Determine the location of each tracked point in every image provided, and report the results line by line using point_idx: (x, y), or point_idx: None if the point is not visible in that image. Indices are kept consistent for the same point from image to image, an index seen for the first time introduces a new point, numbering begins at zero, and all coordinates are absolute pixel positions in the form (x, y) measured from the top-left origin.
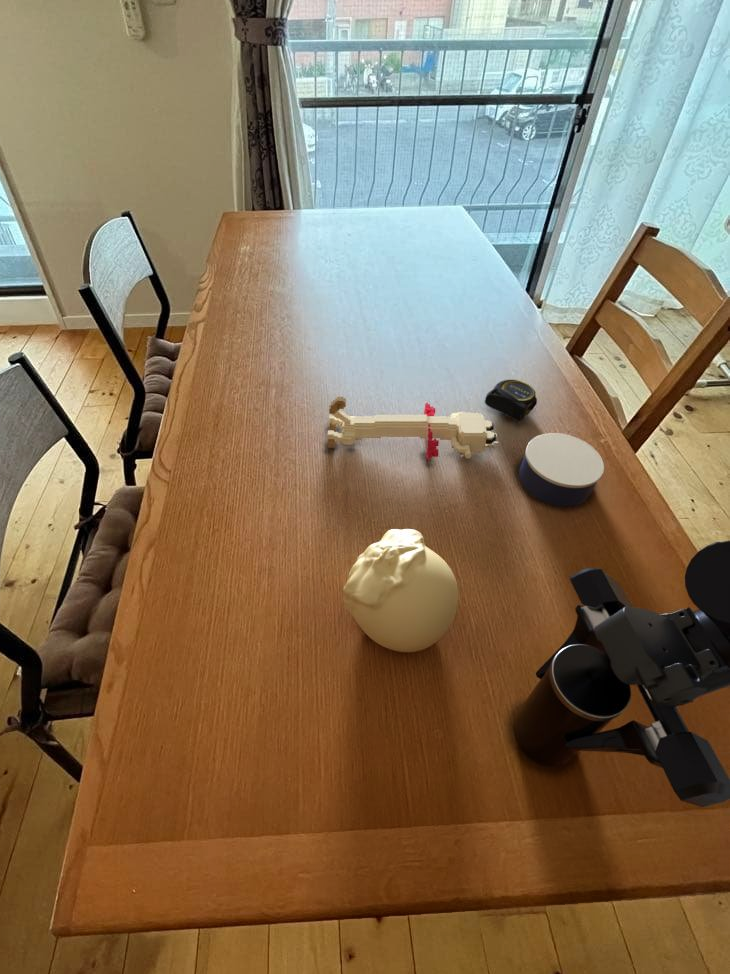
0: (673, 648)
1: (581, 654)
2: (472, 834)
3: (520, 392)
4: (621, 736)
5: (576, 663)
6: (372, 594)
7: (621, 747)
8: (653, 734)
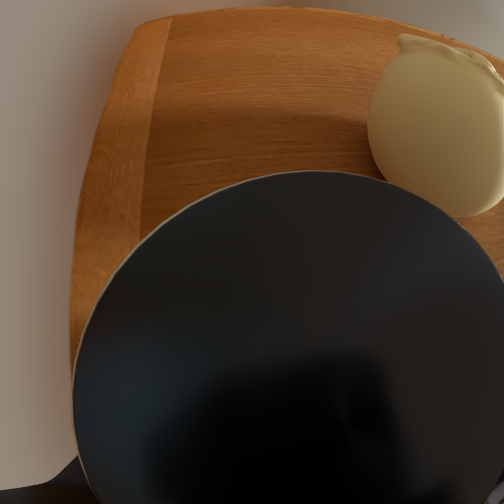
0: None
1: (490, 369)
2: (127, 237)
3: None
4: (88, 483)
5: (442, 329)
6: (414, 37)
7: (68, 466)
8: None
